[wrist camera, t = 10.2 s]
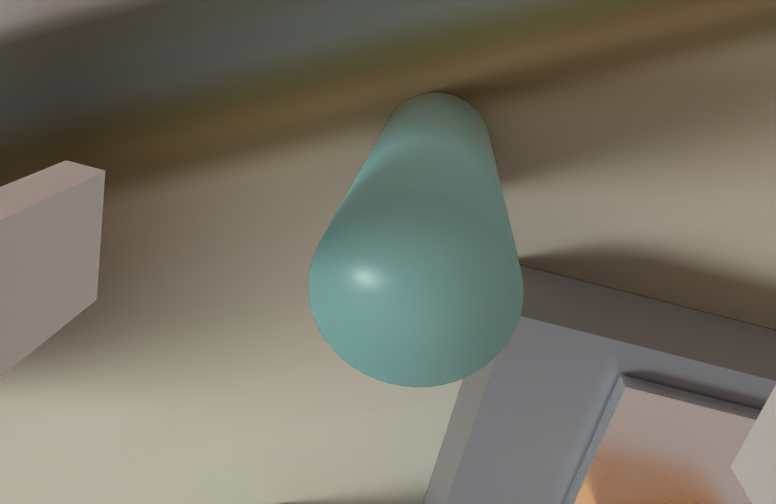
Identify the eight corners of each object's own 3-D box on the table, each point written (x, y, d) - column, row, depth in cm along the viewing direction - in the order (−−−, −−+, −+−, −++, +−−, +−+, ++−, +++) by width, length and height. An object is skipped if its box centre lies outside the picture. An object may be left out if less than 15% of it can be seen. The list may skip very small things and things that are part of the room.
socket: (412, 535, 34) (404, 621, 29) (502, 260, 28) (511, 313, 23) (711, 612, 34) (751, 710, 29) (867, 353, 28) (949, 425, 23)
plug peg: (370, 185, 27) (291, 358, 14) (395, 79, 25) (331, 166, 12) (473, 211, 27) (487, 408, 14) (504, 107, 25) (553, 223, 12)
